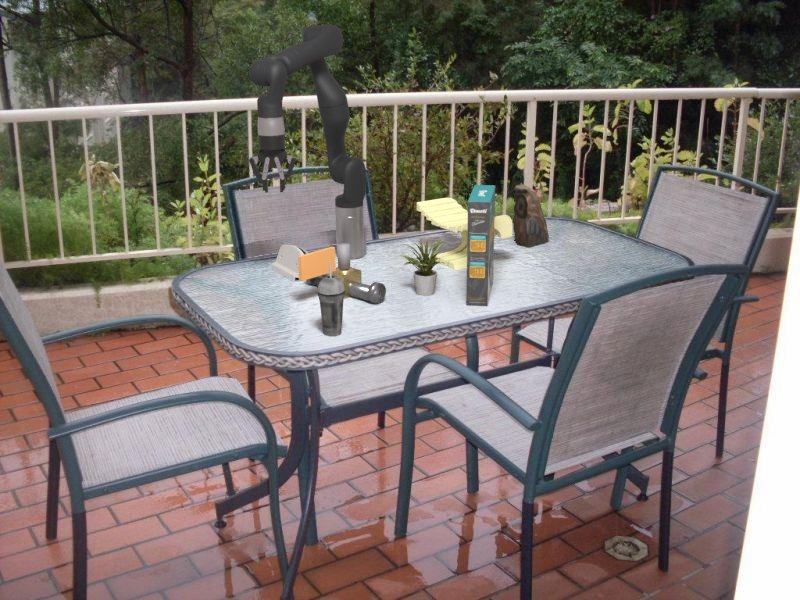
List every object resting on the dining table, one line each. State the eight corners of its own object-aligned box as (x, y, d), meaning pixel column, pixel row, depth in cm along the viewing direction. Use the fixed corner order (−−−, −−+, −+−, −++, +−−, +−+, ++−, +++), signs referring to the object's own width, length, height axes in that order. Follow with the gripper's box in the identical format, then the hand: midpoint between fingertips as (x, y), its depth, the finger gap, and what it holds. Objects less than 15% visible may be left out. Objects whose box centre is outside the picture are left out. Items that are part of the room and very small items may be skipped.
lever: (344, 265, 272) (343, 241, 270) (352, 267, 270) (352, 244, 268) (296, 279, 259) (295, 255, 257) (304, 282, 257) (303, 257, 255)
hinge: (269, 268, 297) (277, 238, 295) (282, 271, 299) (290, 241, 298) (293, 282, 283) (301, 250, 282) (306, 284, 286) (315, 253, 285)
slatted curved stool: (510, 267, 296) (512, 213, 290) (471, 276, 288) (472, 220, 282) (454, 246, 320) (455, 196, 314) (416, 254, 311) (416, 202, 305)
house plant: (422, 281, 283) (422, 229, 278) (459, 290, 275) (460, 236, 269) (392, 293, 273) (392, 239, 267) (430, 302, 264) (430, 247, 259)
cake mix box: (473, 281, 282) (474, 184, 272) (492, 282, 281) (495, 185, 272) (466, 305, 262) (467, 201, 252) (487, 306, 261) (490, 202, 251)
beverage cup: (346, 328, 245) (344, 255, 239) (346, 337, 238) (344, 263, 232) (319, 328, 245) (316, 255, 239) (317, 338, 238) (315, 264, 232)
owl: (528, 249, 316) (530, 191, 310) (499, 242, 325) (501, 186, 318) (550, 241, 325) (553, 185, 318) (522, 235, 333) (524, 180, 327)
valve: (321, 281, 284) (320, 257, 282) (387, 300, 266) (387, 275, 264) (304, 286, 279) (303, 262, 277) (370, 306, 261) (370, 281, 259)
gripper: (244, 135, 260) (248, 195, 265) (295, 134, 260) (298, 194, 266) (247, 131, 267) (251, 189, 272) (297, 130, 267) (299, 188, 273)
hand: (274, 191), depth 269 cm, fingers open, 3 cm apart
